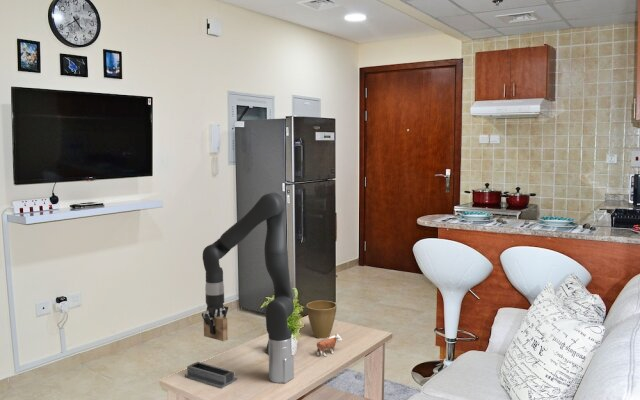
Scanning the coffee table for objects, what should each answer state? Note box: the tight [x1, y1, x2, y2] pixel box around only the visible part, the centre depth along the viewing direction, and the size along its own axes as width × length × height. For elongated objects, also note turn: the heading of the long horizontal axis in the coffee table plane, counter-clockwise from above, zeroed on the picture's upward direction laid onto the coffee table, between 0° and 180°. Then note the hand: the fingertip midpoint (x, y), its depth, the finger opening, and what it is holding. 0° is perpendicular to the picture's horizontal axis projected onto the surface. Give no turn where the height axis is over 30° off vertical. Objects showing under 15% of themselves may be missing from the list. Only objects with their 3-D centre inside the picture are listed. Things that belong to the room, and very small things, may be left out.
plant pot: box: [306, 300, 338, 339], centre depth 274 cm, size 15×15×16 cm
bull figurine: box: [316, 333, 343, 357], centre depth 251 cm, size 4×13×8 cm, turn 125°
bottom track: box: [184, 361, 238, 389], centre depth 225 cm, size 20×9×4 cm, turn 58°
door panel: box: [203, 316, 229, 342], centre depth 229 cm, size 11×2×9 cm, turn 56°
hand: (215, 332), depth 229 cm, fingers closed on door panel, 2 cm apart
